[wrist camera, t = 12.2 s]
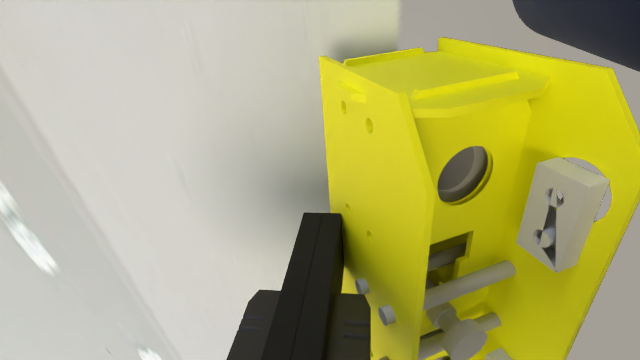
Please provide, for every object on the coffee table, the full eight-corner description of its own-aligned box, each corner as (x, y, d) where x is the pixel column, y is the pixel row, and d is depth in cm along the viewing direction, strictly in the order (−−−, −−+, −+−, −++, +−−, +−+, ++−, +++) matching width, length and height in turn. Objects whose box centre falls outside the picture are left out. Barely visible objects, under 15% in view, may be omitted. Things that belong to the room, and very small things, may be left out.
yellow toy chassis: (415, 308, 22) (527, 455, 15) (330, 341, 20) (411, 522, 13) (440, 33, 14) (710, 79, 7) (302, 53, 12) (470, 139, 5)
